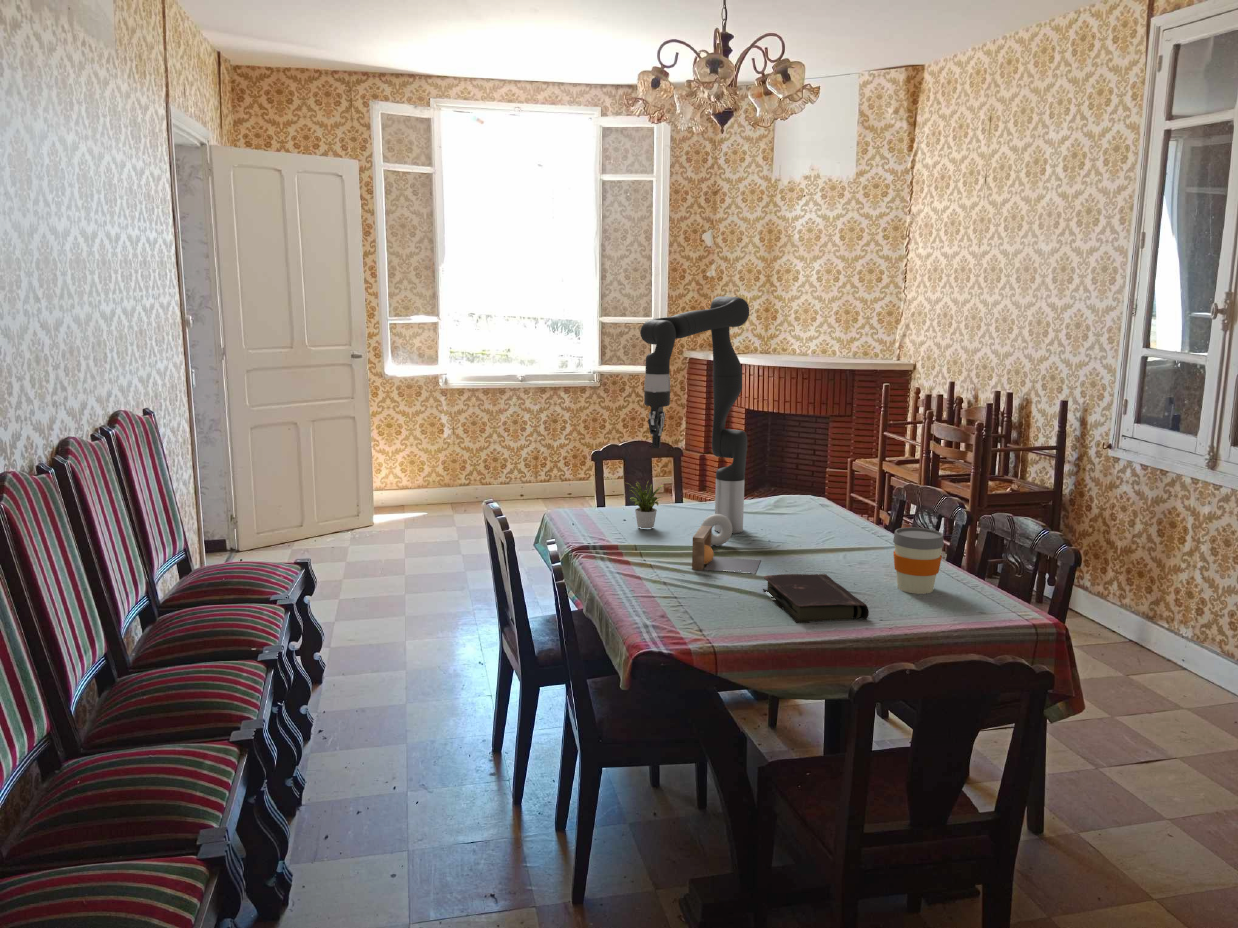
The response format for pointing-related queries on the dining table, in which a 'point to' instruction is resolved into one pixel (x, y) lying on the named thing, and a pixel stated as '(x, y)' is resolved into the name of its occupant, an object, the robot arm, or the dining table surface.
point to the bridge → (700, 546)
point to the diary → (814, 598)
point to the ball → (708, 554)
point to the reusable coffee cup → (917, 558)
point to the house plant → (645, 506)
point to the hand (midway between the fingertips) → (656, 447)
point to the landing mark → (733, 564)
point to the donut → (725, 526)
